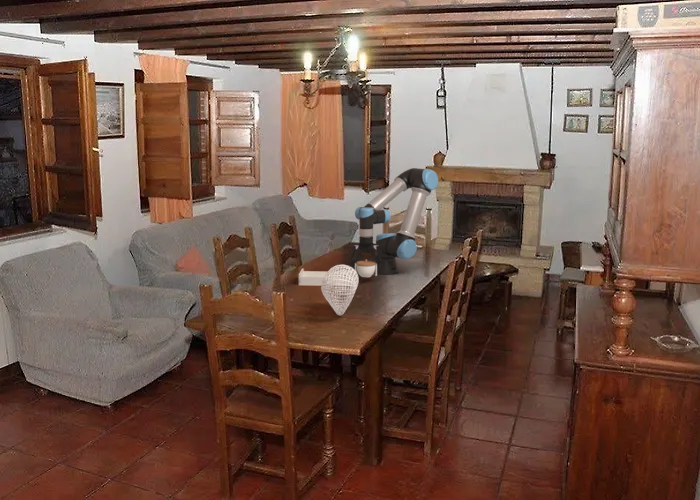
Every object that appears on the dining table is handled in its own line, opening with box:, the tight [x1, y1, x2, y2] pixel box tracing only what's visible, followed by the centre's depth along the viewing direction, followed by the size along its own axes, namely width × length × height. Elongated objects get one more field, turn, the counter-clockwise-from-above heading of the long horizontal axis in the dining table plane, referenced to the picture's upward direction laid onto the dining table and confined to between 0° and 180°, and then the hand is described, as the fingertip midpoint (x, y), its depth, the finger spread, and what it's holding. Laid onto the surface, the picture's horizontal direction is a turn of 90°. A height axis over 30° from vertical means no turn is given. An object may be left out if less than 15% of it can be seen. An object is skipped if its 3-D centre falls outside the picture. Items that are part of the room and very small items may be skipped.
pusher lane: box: [298, 268, 355, 287], centre depth 363 cm, size 31×15×6 cm, turn 87°
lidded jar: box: [355, 259, 376, 278], centre depth 360 cm, size 11×11×9 cm
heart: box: [320, 264, 359, 316], centre depth 300 cm, size 28×16×22 cm, turn 174°
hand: (365, 275), depth 361 cm, fingers closed on lidded jar, 11 cm apart
